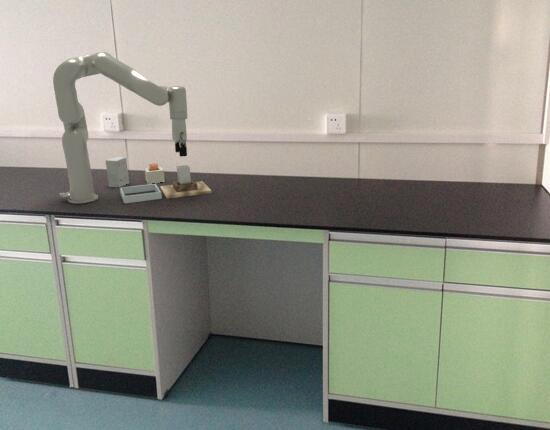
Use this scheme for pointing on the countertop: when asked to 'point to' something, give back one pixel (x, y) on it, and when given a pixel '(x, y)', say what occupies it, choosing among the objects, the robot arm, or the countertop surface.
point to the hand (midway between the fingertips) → (181, 154)
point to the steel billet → (183, 175)
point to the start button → (153, 167)
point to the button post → (154, 175)
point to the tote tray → (140, 196)
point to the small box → (117, 171)
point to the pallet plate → (185, 189)
